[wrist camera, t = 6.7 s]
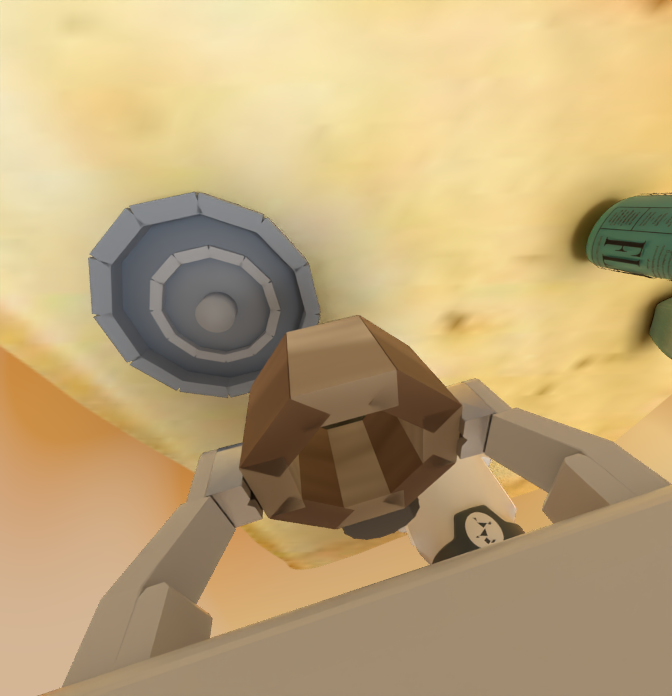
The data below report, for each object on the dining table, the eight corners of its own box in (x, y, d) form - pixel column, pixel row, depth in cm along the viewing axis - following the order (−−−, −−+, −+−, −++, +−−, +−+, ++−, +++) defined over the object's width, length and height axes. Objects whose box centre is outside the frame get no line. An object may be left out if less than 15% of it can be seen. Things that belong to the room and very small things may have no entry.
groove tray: (329, 356, 27) (334, 370, 25) (175, 397, 26) (164, 417, 23) (285, 175, 19) (287, 171, 16) (57, 224, 18) (23, 228, 15)
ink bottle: (384, 433, 35) (429, 530, 24) (320, 450, 34) (338, 558, 23) (379, 375, 30) (434, 466, 19) (304, 394, 29) (319, 499, 19)
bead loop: (411, 424, 13) (452, 493, 10) (283, 460, 12) (284, 545, 9) (408, 302, 9) (469, 350, 6) (232, 345, 9) (208, 419, 6)
